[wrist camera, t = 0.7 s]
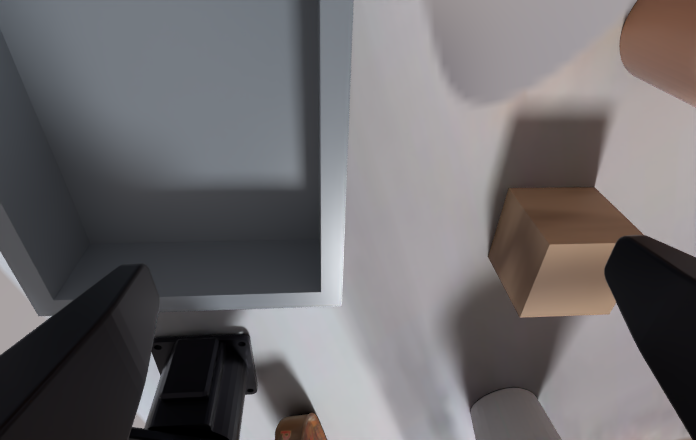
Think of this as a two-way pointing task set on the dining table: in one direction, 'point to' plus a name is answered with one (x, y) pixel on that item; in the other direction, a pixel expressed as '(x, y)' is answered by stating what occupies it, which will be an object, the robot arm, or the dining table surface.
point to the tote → (176, 148)
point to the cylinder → (662, 46)
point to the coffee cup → (511, 417)
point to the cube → (557, 250)
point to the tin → (300, 428)
